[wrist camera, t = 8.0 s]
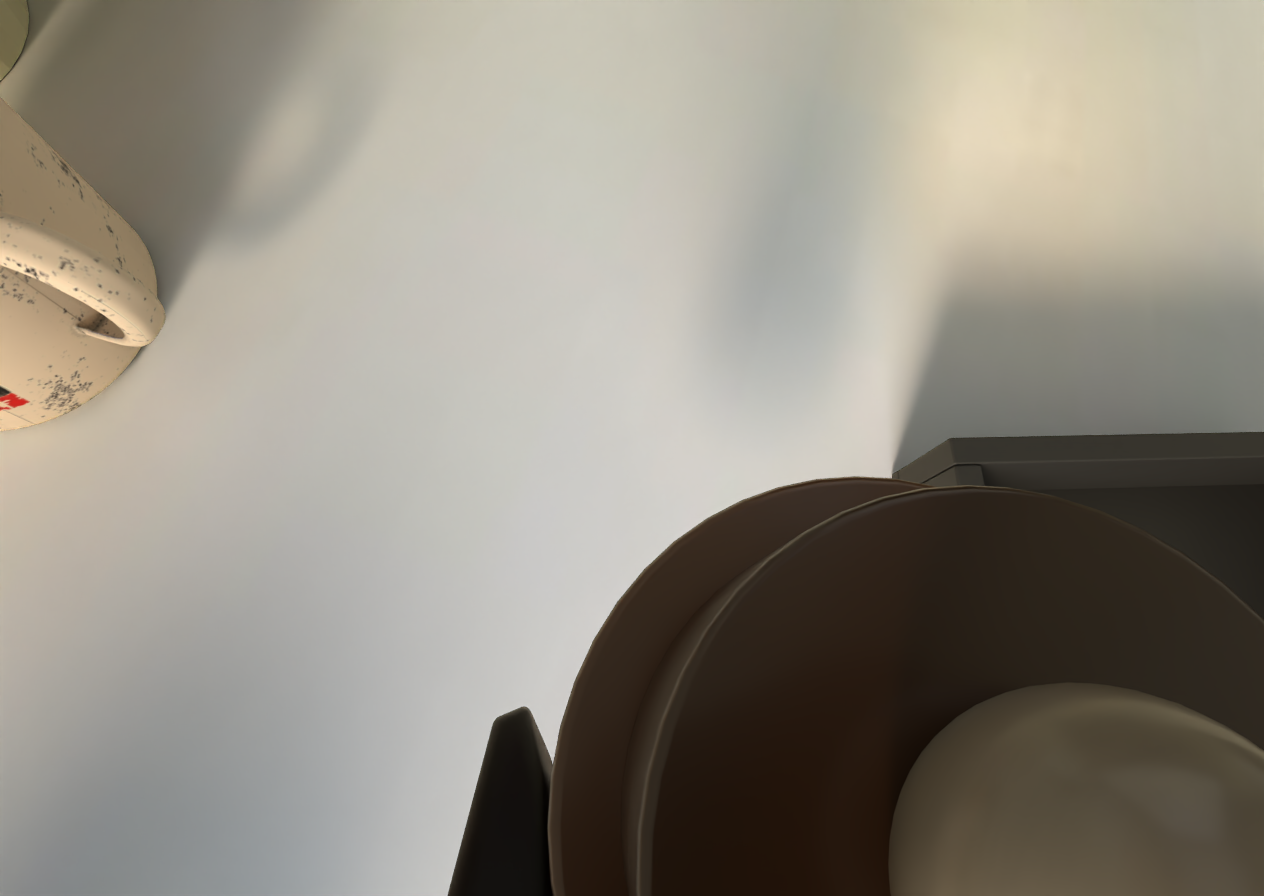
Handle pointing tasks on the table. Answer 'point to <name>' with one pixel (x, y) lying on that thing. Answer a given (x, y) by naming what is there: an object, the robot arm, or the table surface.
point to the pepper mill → (915, 708)
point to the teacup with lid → (63, 283)
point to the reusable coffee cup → (12, 32)
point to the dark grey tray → (1135, 488)
